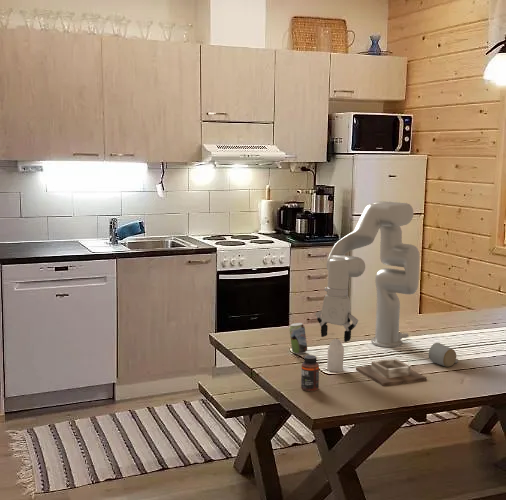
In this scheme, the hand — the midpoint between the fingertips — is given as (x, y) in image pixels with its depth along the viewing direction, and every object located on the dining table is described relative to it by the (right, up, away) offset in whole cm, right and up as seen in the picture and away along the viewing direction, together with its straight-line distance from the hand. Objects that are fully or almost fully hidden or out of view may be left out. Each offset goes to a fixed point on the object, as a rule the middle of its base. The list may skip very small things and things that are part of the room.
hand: (335, 338), depth 253 cm
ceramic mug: (+43, -11, +11) cm, 46 cm away
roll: (0, -12, +2) cm, 12 cm away
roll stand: (+20, -13, -3) cm, 23 cm away
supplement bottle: (-11, -15, -18) cm, 26 cm away
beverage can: (-12, -9, +22) cm, 26 cm away
